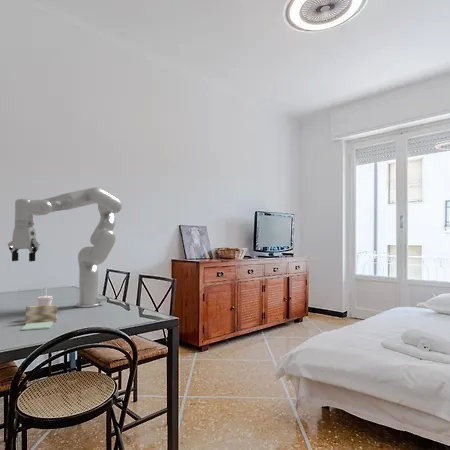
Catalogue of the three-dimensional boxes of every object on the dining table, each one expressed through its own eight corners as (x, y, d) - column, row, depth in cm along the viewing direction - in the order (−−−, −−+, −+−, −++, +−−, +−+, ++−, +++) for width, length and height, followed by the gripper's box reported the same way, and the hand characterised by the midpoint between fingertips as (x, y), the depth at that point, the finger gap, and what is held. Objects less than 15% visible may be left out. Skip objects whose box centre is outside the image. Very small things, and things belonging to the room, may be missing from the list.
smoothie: (55, 316, 164) (55, 286, 165) (48, 319, 158) (49, 288, 158) (41, 316, 164) (41, 286, 165) (34, 319, 158) (34, 288, 158)
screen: (57, 320, 157) (57, 304, 157) (56, 321, 154) (56, 305, 154) (26, 322, 153) (27, 306, 153) (25, 324, 150) (25, 307, 150)
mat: (53, 322, 152) (53, 321, 152) (49, 328, 143) (49, 327, 143) (26, 324, 149) (27, 323, 149) (21, 330, 140) (21, 329, 140)
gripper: (45, 225, 170) (44, 260, 170) (15, 225, 175) (14, 260, 174) (33, 224, 163) (32, 261, 163) (2, 225, 167) (1, 261, 167)
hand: (23, 261), depth 168 cm, fingers open, 9 cm apart
